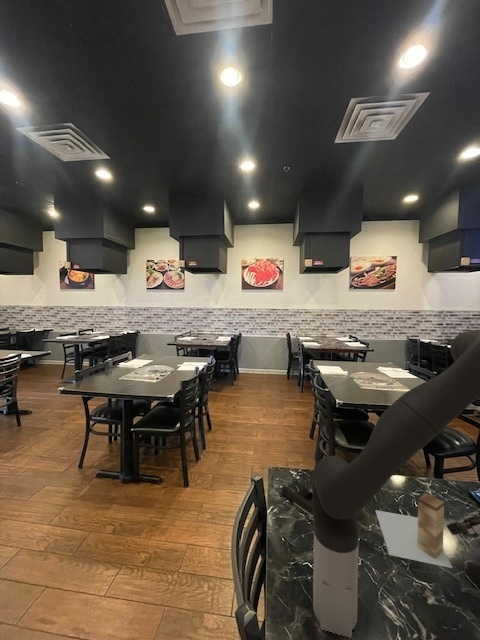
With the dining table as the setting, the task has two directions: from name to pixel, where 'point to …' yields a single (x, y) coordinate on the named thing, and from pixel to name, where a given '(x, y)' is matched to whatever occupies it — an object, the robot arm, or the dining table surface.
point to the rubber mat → (405, 538)
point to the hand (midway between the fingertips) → (450, 529)
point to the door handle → (300, 499)
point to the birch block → (430, 525)
